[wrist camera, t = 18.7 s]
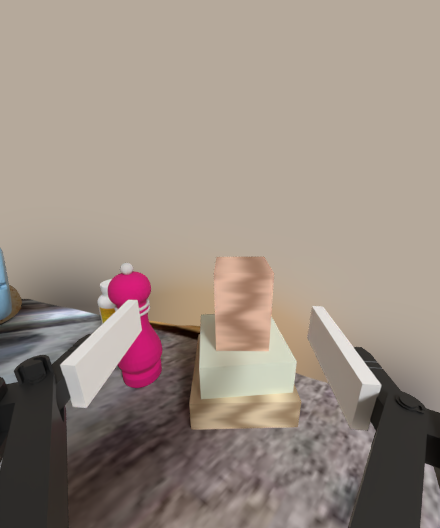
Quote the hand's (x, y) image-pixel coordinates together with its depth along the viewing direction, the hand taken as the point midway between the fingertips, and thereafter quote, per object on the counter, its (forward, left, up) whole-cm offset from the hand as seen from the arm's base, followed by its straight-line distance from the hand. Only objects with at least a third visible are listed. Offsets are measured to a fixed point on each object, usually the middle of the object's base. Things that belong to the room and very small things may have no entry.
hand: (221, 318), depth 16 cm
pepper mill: (-14, +15, -20) cm, 29 cm away
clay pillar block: (+3, +13, -11) cm, 17 cm away
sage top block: (+3, +13, -16) cm, 21 cm away
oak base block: (+3, +13, -21) cm, 25 cm away
